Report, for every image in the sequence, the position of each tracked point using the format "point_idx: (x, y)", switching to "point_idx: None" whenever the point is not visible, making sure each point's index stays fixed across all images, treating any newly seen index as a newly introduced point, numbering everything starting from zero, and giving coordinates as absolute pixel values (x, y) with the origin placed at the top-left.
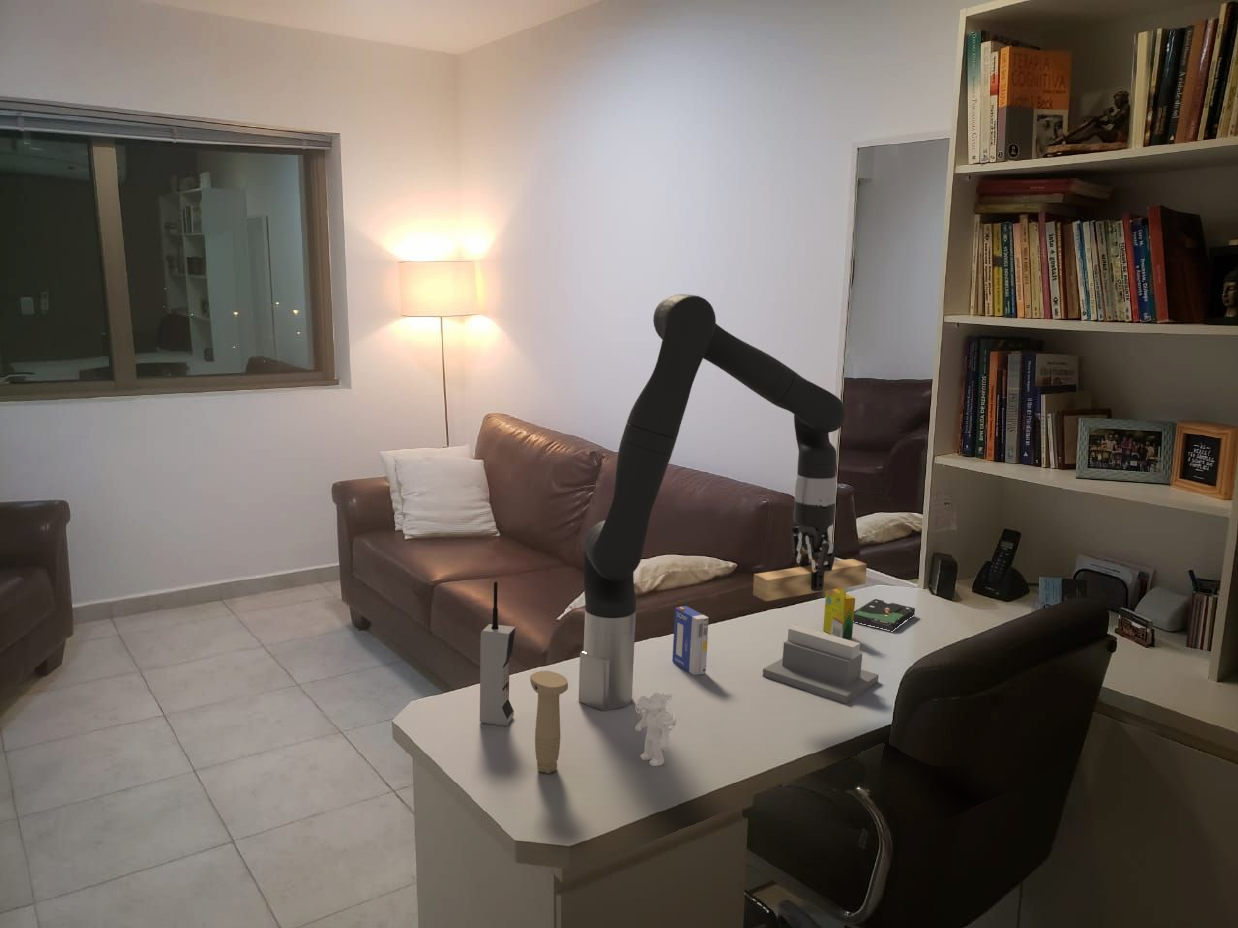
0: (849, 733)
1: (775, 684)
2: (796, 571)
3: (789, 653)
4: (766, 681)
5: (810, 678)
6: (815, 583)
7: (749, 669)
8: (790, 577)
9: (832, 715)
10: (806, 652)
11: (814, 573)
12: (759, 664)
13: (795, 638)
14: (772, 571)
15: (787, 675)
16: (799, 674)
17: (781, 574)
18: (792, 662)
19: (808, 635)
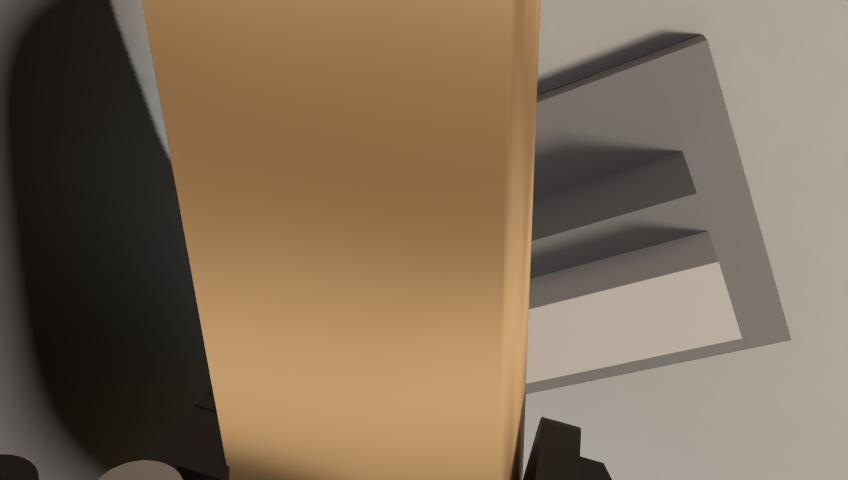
0: (130, 13)
1: (592, 31)
2: (342, 358)
3: (651, 186)
4: (640, 11)
5: None
6: None
7: (805, 21)
8: (178, 124)
9: None
10: (557, 227)
11: (183, 464)
12: (824, 110)
13: (661, 254)
14: (501, 22)
15: (581, 101)
16: (564, 158)
17: (289, 58)
18: (629, 178)
19: (583, 292)
